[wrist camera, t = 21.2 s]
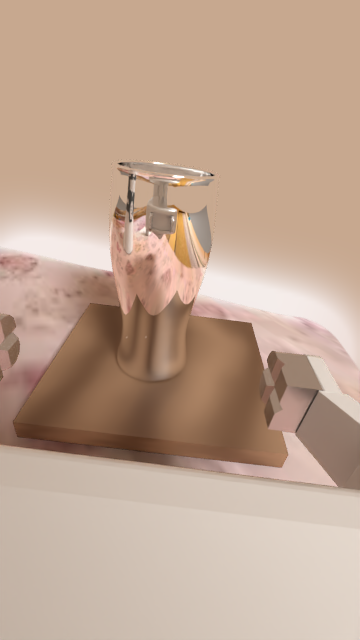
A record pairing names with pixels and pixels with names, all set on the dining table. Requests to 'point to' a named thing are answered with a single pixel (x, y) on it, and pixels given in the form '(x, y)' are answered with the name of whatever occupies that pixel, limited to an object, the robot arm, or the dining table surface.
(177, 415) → the walnut board
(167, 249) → the beer glass
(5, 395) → the dining table surface
